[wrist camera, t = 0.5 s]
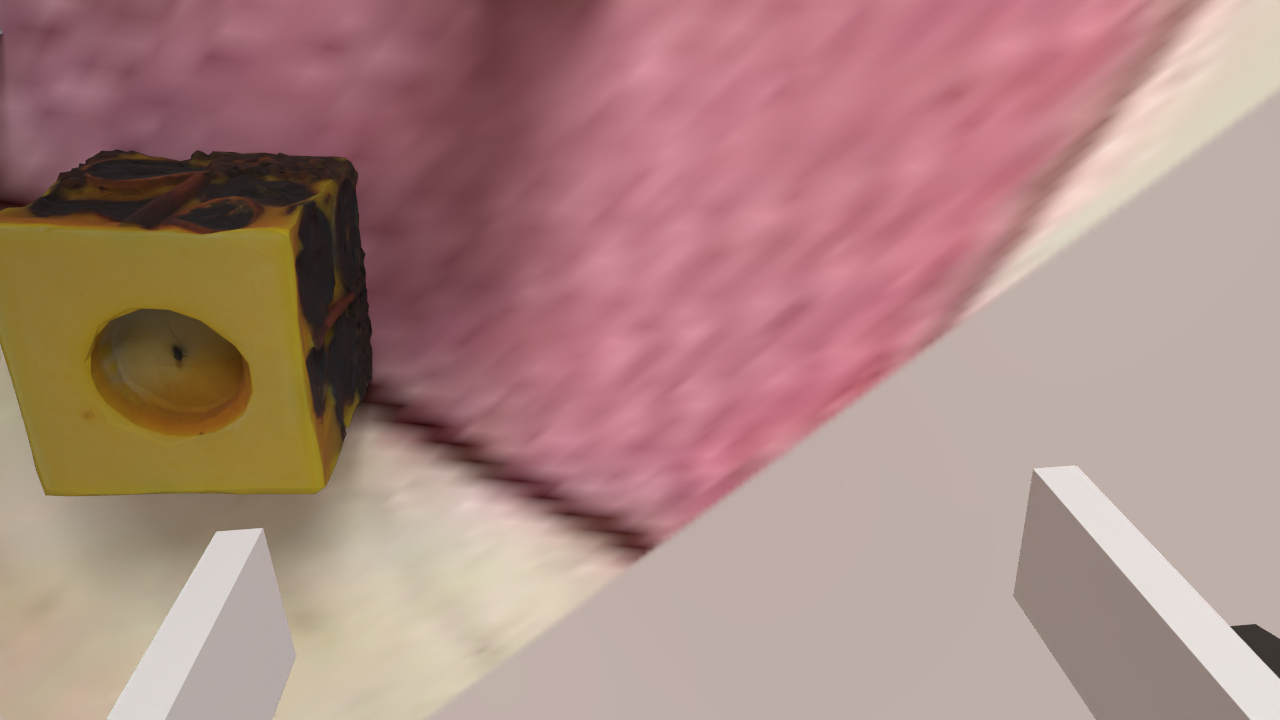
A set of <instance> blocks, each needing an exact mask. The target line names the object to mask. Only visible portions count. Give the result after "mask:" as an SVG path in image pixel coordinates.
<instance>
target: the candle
mask: <svg viewBox="0 0 1280 720" xmlns="http://www.w3.org/2000/svg"><path fill="white" fill-rule="evenodd" d="M357 176H358V172H357V171H356V170H355V168H354V167H353V165H352V163H351V162H350V161H348V160H347V159H346V158H341V157H312V156H288V155H285V154H282V153H279V154H278V155H276V154H269V153H248V154H240V153H235V152H212V153H211V154H210V155H207V154H205V153H204V152H201V151H198V150H197V151H196V152H195V153H193V154H192V156H191V159H189V160H185V161H177V160H172V159H167V158H161V157H150V156H147V155H144V154H141V153H138V152H135V151H129V152H124V151H120V150H114V151H101V152H100V153H98V154H97V155H95V156H94V157H91V158H89V159H88V160H86V164H81V163H80V164H79V167H78V168H74V169H73V168H72V170H71V171H70V172H63V173H60V174H59V176H58V178H57V181H56V182H55V183H54V184H53V185H52V186H51V187H50V188H49V189H48V190H47V192H46V193H45V194H44V195H43V196H42V197H40V198H39V199H37V200H35V201H33V202H32V203H30V204H28V205H26V206H25V207H18V208H6V209H4V210H2V211H0V344H1V347H2V350H3V353H4V357H5V360H6V363H7V366H8V369H9V372H10V376H11V379H12V382H13V386H14V389H15V393H16V396H17V400H18V403H19V406H20V410H21V413H22V417H23V420H24V424H25V427H26V431H27V435H28V439H29V442H30V446H31V450H32V454H33V458H34V462H35V467H36V471H37V473H38V476H39V479H40V481H41V484H42V487H43V489H44V492H45V495H53V496H101V495H130V494H161V493H226V494H315V493H317V492H318V491H320V490H322V489H323V488H325V486H326V485H327V483H328V481H329V479H330V477H331V474H332V472H333V470H334V467H335V465H336V462H337V460H338V457H339V454H340V451H341V448H342V445H343V441H344V438H345V436H346V431H345V429H346V428H347V427H348V426H349V425H350V423H351V419H352V415H353V412H354V410H355V408H356V405H357V404H358V403H361V401H362V399H363V397H364V395H365V393H366V391H367V389H368V387H367V386H368V384H369V382H370V380H371V379H372V348H371V345H370V342H369V340H370V336H371V333H372V329H371V323H370V318H369V317H368V315H367V310H368V307H369V305H368V302H367V300H366V298H367V289H366V283H365V275H366V272H365V267H364V263H363V259H364V256H365V253H364V251H363V250H362V248H361V240H360V232H359V226H358V224H359V214H358V206H357V198H356V191H355V184H356V180H357Z"/></svg>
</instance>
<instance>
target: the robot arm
mask: <svg viewBox="0 0 1280 720" xmlns="http://www.w3.org/2000/svg"><path fill="white" fill-rule="evenodd" d="M1013 596H1014V597H1015V599H1016V601H1017V602H1018V604H1019V605H1020V606H1021V608H1022V610H1023V611H1024V613H1025V614H1026V616H1027V617H1028V619H1029V620H1030V622H1031V623H1032V625H1033V626H1034V628H1035V629H1036V630H1037V632H1038V634H1039V635H1040V636H1041V638H1042V640H1043V641H1044V643H1045V644H1046V645H1047V647H1048V649H1049V650H1050V652H1051V653H1052V655H1053V656H1054V658H1055V659H1056V661H1057V662H1058V663H1059V665H1060V667H1061V668H1062V669H1063V671H1064V672H1065V674H1066V675H1067V677H1068V678H1069V680H1070V681H1071V683H1072V684H1073V686H1074V687H1075V689H1076V690H1077V692H1078V693H1079V695H1080V696H1081V698H1082V699H1083V701H1084V702H1085V704H1086V705H1087V707H1088V708H1089V710H1090V711H1091V713H1092V714H1093V716H1094V717H1095V719H1096V720H1280V639H1279V638H1277V637H1276V636H1274V635H1272V634H1271V633H1269V632H1267V631H1266V630H1264V629H1262V628H1261V627H1259V626H1258V625H1256V624H1251V625H1240V626H1229V625H1228V624H1227V623H1226V622H1225V621H1224V620H1223V619H1222V618H1221V617H1220V616H1219V615H1218V614H1217V613H1216V612H1215V611H1214V609H1213V608H1212V607H1211V606H1209V604H1208V603H1207V602H1206V601H1205V600H1204V599H1203V598H1202V597H1201V596H1200V595H1199V594H1198V593H1197V592H1196V591H1195V590H1194V588H1193V587H1192V586H1191V585H1190V584H1189V583H1188V582H1187V581H1186V580H1185V579H1184V578H1183V577H1182V576H1181V575H1180V574H1179V573H1178V572H1177V571H1176V570H1175V569H1174V568H1173V566H1172V565H1171V564H1170V563H1169V562H1168V561H1167V560H1166V559H1165V558H1164V557H1163V556H1162V555H1161V554H1160V553H1159V552H1158V551H1157V550H1156V549H1155V547H1153V545H1152V544H1151V543H1150V542H1149V541H1148V540H1147V539H1146V538H1145V537H1144V536H1143V535H1142V534H1141V533H1140V532H1139V531H1138V530H1137V529H1136V528H1135V526H1134V525H1133V524H1131V522H1130V521H1128V519H1127V518H1126V517H1125V516H1124V515H1123V514H1122V513H1121V512H1120V511H1119V510H1118V509H1117V508H1116V507H1115V505H1114V504H1113V503H1112V502H1111V501H1110V500H1109V499H1108V498H1107V497H1106V496H1105V495H1104V494H1103V493H1102V492H1101V491H1100V490H1099V489H1098V488H1097V487H1096V485H1094V483H1093V482H1092V481H1091V480H1090V479H1089V478H1088V477H1087V476H1086V475H1085V474H1084V473H1083V472H1082V471H1081V470H1080V469H1079V468H1078V467H1077V466H1076V465H1075V466H1062V467H1050V468H1036V469H1033V474H1032V480H1031V486H1030V492H1029V499H1028V505H1027V512H1026V519H1025V525H1024V532H1023V538H1022V545H1021V550H1020V557H1019V563H1018V570H1017V576H1016V582H1015V589H1014V595H1013ZM295 658H296V653H295V649H294V645H293V641H292V637H291V633H290V629H289V626H288V622H287V618H286V614H285V610H284V606H283V602H282V599H281V595H280V591H279V587H278V583H277V579H276V576H275V572H274V568H273V564H272V560H271V556H270V552H269V549H268V545H267V541H266V537H265V533H264V529H263V528H255V529H242V530H229V531H216V533H215V535H214V536H213V538H212V540H211V542H210V543H209V545H208V547H207V548H206V550H205V552H204V553H203V555H202V557H201V559H200V560H199V562H198V564H197V565H196V567H195V569H194V571H193V572H192V574H191V576H190V577H189V579H188V581H187V582H186V584H185V586H184V588H183V589H182V591H181V593H180V594H179V596H178V598H177V599H176V601H175V603H174V605H173V606H172V608H171V610H170V611H169V613H168V615H167V616H166V618H165V620H164V622H163V623H162V625H161V627H160V628H159V630H158V632H157V634H156V635H155V637H154V639H153V640H152V642H151V644H150V645H149V647H148V649H147V651H146V652H145V654H144V656H143V657H142V659H141V661H140V662H139V664H138V666H137V668H136V669H135V671H134V673H133V674H132V676H131V678H130V679H129V681H128V683H127V685H126V686H125V688H124V690H123V691H122V693H121V695H120V697H119V698H118V700H117V702H116V703H115V705H114V707H113V708H112V710H111V712H110V714H109V715H108V717H107V719H106V720H272V719H273V716H274V714H275V711H276V708H277V706H278V703H279V700H280V698H281V695H282V692H283V690H284V687H285V684H286V682H287V679H288V676H289V674H290V671H291V668H292V666H293V663H294V660H295Z"/></svg>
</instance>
